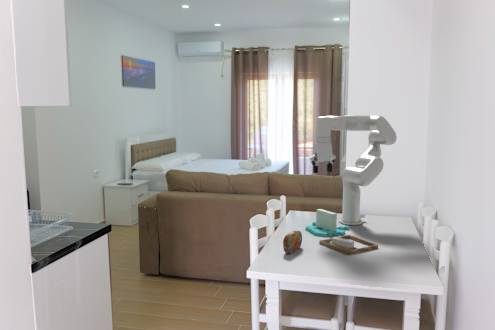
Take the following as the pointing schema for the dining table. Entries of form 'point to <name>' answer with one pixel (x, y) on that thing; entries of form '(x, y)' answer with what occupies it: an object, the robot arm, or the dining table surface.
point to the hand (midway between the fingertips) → (322, 172)
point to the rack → (355, 250)
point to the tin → (292, 241)
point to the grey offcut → (342, 242)
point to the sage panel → (326, 219)
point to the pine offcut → (342, 247)
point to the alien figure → (323, 232)
